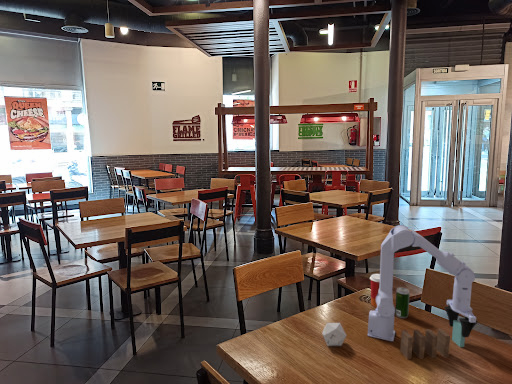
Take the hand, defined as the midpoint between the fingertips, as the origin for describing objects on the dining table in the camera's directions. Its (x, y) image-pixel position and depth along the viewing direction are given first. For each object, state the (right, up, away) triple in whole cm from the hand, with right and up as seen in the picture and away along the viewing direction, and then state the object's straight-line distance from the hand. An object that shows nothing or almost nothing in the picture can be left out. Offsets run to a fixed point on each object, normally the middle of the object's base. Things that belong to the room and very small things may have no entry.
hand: (458, 331), depth 135 cm
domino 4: (-9, -6, -6) cm, 12 cm away
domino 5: (0, -5, +1) cm, 5 cm away
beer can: (-13, -2, +22) cm, 26 cm away
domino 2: (-18, -6, -6) cm, 20 cm away
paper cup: (-20, -1, +33) cm, 38 cm away
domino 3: (-14, -6, -6) cm, 16 cm away
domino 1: (-23, -6, -6) cm, 24 cm away
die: (-47, -5, +1) cm, 47 cm away
